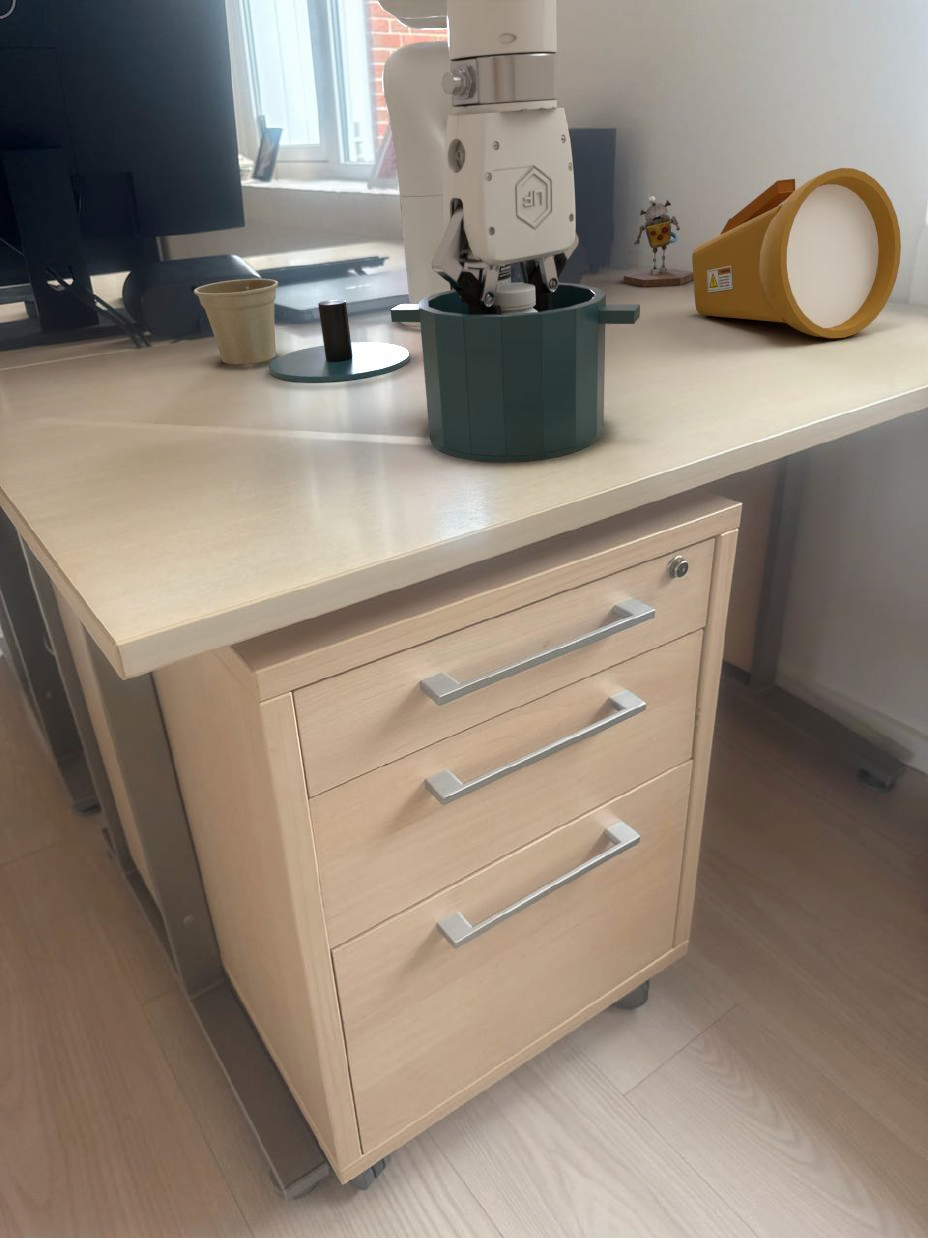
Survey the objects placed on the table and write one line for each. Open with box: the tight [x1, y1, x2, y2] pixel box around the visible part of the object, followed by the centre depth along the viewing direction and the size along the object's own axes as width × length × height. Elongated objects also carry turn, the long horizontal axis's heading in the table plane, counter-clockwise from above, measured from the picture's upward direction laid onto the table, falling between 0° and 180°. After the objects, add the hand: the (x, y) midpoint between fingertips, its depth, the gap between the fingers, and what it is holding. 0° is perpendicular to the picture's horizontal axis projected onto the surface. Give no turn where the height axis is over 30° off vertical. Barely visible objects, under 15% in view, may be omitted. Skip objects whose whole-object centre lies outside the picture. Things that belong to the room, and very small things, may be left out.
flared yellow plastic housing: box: [691, 167, 902, 339], centre depth 102 cm, size 20×17×18 cm
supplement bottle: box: [493, 282, 538, 315], centre depth 71 cm, size 5×5×8 cm
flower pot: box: [193, 278, 279, 365], centre depth 102 cm, size 9×9×9 cm
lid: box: [268, 299, 410, 383], centre depth 97 cm, size 16×16×7 cm
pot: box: [390, 281, 641, 463], centre depth 72 cm, size 15×20×11 cm
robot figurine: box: [623, 195, 694, 288], centre depth 133 cm, size 11×9×12 cm
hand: (512, 346), depth 71 cm, fingers closed on supplement bottle, 4 cm apart
